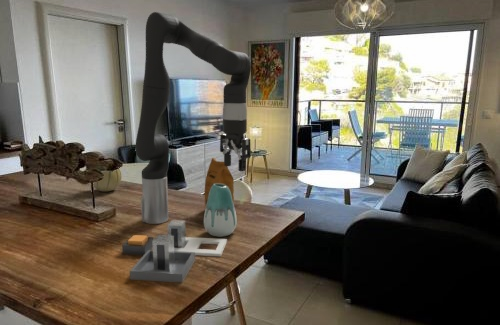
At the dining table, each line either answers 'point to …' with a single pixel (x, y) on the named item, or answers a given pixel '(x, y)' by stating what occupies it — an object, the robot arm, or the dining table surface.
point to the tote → (146, 271)
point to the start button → (138, 240)
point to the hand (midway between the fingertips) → (234, 168)
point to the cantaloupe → (109, 181)
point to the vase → (220, 211)
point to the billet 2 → (177, 232)
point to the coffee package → (218, 178)
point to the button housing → (137, 247)
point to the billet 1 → (163, 253)
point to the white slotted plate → (196, 242)
